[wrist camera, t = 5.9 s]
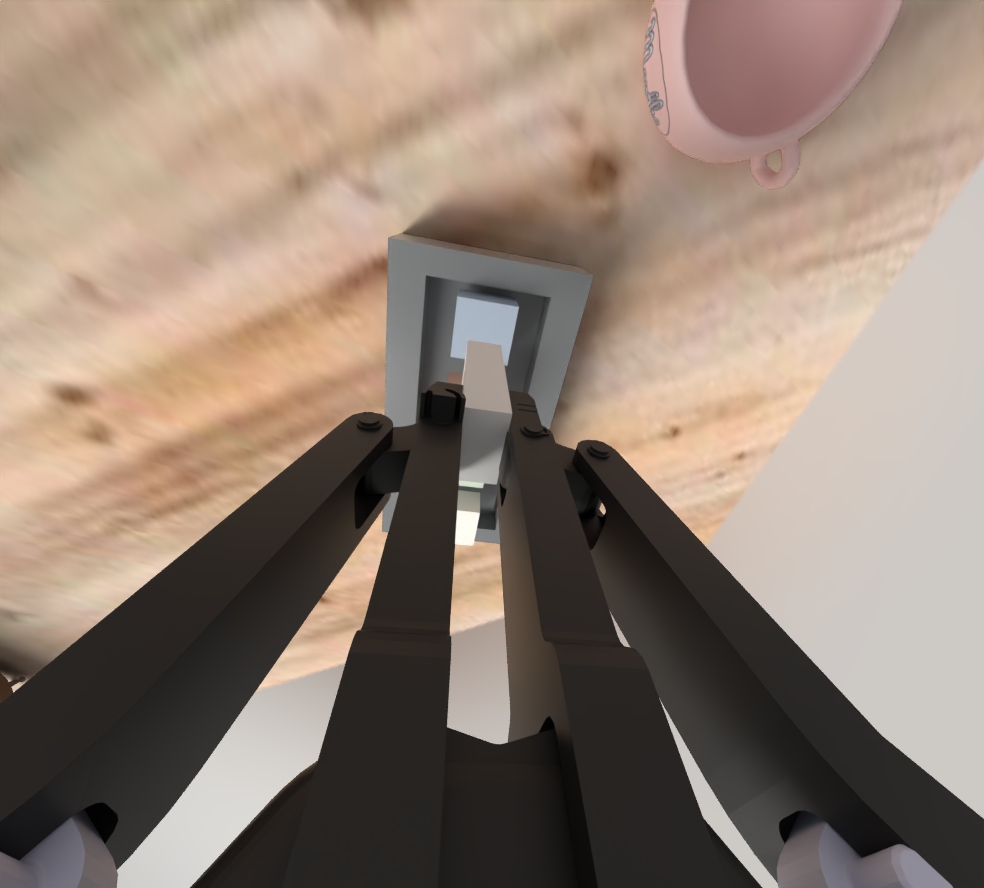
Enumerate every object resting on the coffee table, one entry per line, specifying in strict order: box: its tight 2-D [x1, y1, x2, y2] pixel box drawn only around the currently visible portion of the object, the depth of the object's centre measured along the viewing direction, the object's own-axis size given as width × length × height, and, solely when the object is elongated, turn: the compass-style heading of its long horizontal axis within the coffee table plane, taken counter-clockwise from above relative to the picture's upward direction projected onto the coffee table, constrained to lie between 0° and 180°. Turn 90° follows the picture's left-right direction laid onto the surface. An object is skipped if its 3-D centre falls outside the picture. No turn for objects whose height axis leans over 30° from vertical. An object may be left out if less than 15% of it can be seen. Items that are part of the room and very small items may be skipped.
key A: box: [450, 289, 519, 366], centre depth 24 cm, size 4×4×2 cm
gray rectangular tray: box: [382, 233, 594, 544], centre depth 29 cm, size 12×23×4 cm, turn 170°
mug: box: [643, 0, 903, 189], centre depth 18 cm, size 12×10×6 cm
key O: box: [455, 490, 480, 546], centre depth 30 cm, size 4×4×2 cm
